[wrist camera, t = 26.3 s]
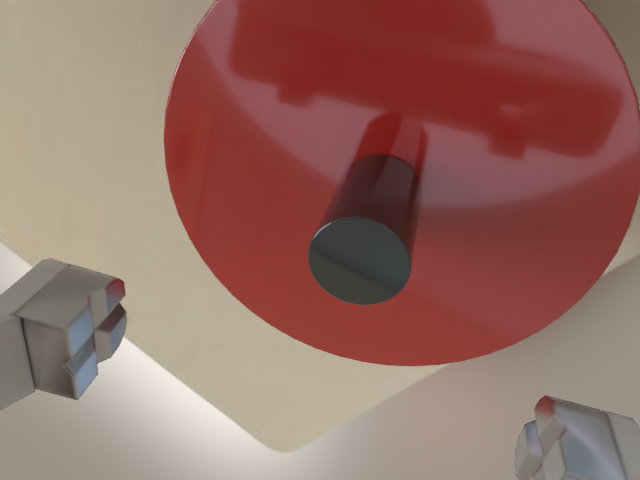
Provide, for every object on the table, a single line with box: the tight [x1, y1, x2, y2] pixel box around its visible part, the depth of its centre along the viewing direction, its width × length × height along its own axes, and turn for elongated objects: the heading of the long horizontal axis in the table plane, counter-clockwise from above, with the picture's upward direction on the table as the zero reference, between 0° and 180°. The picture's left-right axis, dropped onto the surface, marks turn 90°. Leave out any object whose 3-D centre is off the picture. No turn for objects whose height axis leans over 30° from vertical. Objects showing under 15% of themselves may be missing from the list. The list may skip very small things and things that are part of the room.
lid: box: [164, 0, 640, 366], centre depth 15 cm, size 14×14×5 cm
